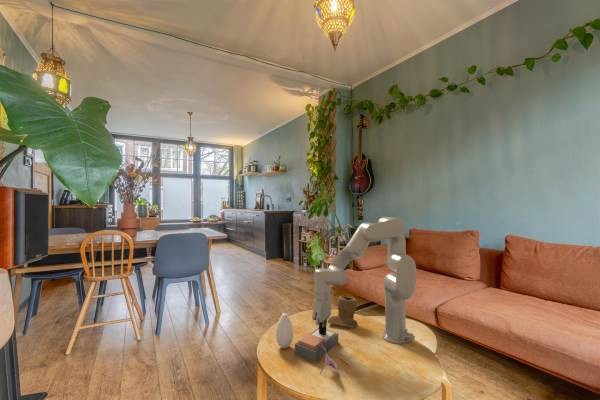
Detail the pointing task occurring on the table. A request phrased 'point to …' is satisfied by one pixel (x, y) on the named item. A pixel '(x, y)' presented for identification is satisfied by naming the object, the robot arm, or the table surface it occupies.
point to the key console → (319, 352)
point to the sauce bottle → (284, 331)
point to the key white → (325, 337)
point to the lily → (329, 362)
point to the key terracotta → (311, 341)
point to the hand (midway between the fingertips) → (322, 333)
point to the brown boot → (345, 312)
